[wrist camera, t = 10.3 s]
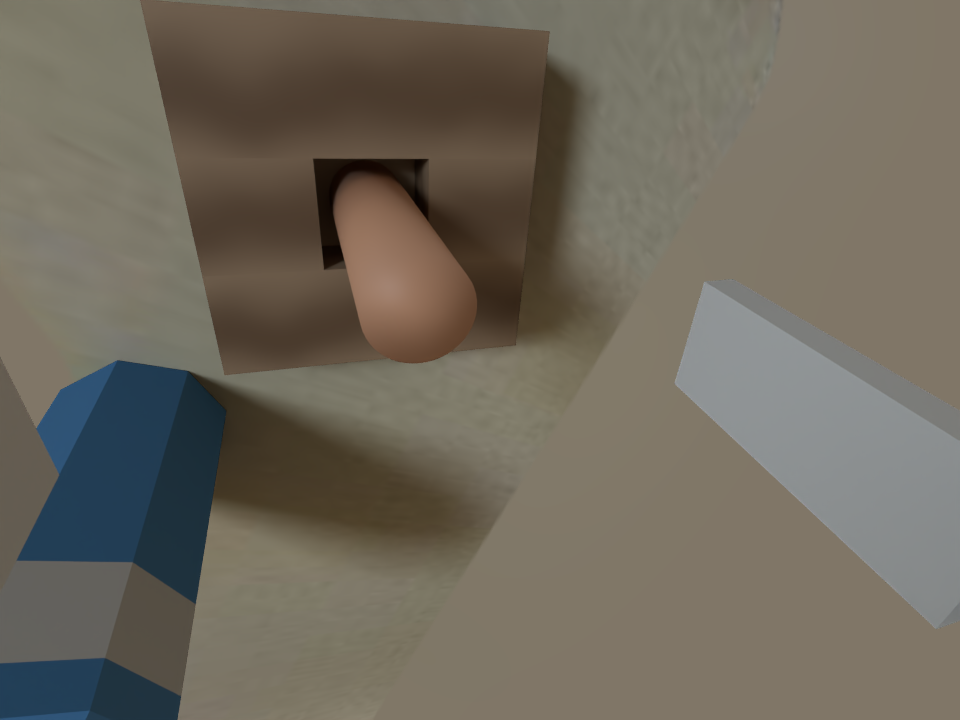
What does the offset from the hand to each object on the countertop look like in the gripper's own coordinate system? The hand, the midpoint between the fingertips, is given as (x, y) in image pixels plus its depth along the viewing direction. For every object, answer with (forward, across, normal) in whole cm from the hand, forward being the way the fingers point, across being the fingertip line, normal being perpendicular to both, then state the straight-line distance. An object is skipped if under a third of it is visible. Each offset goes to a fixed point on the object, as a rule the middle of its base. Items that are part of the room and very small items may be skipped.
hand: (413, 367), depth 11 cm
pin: (+20, +1, -2) cm, 20 cm away
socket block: (+22, +1, -2) cm, 22 cm away
